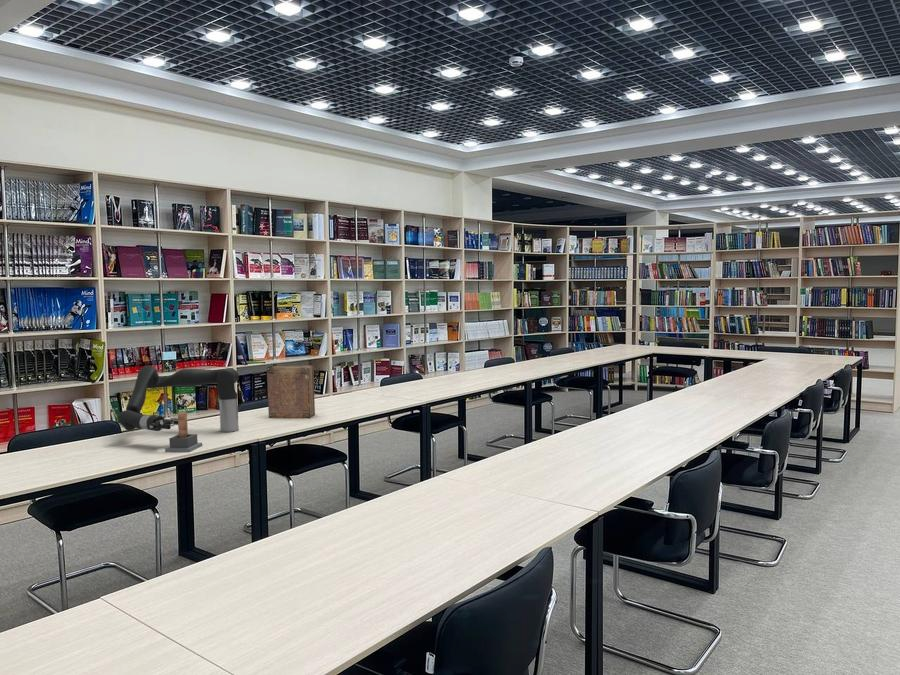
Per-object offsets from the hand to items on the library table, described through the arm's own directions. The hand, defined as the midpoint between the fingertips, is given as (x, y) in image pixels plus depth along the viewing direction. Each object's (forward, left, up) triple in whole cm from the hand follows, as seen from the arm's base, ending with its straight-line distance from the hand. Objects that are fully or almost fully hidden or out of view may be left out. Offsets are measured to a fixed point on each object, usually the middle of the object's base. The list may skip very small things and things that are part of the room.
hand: (177, 425), depth 303 cm
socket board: (+1, +3, -11) cm, 12 cm away
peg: (+1, +3, -10) cm, 10 cm away
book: (-77, +28, -11) cm, 83 cm away
